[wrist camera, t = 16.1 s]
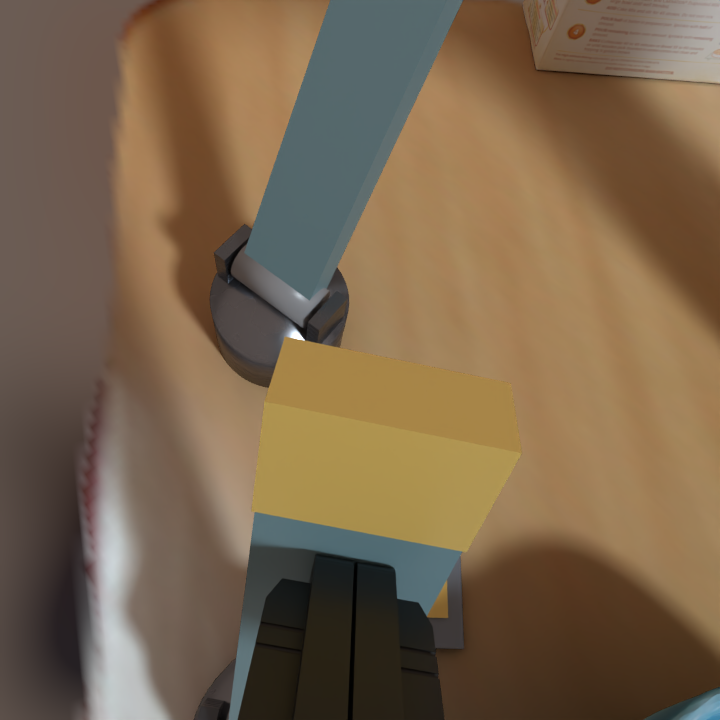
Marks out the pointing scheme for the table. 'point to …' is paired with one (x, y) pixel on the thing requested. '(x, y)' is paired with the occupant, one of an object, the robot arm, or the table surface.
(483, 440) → the near lever
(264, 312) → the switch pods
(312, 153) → the far lever
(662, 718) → the casserole dish
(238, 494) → the table surface
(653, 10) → the coffeecake box
